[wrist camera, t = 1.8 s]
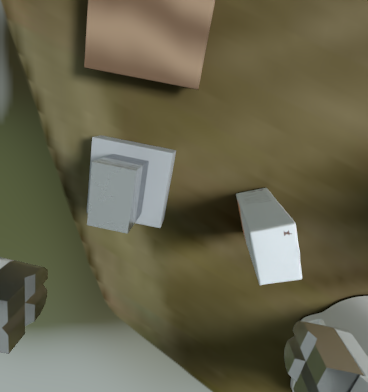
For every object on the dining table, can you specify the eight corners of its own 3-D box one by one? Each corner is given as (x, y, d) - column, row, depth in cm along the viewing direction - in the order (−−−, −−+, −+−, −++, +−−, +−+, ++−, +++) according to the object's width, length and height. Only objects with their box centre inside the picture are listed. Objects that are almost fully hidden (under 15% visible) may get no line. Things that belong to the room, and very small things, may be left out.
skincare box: (234, 193, 34) (248, 230, 23) (266, 186, 33) (297, 221, 22) (242, 233, 36) (258, 286, 24) (272, 227, 35) (305, 280, 24)
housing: (141, 213, 33) (127, 233, 27) (107, 206, 33) (87, 224, 27) (148, 161, 31) (135, 170, 25) (113, 153, 31) (91, 161, 25)
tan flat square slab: (198, 91, 31) (198, 89, 28) (95, 71, 31) (84, 67, 28) (223, -38, 27) (225, -57, 24) (104, -59, 27) (92, -80, 24)
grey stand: (163, 219, 36) (160, 228, 33) (96, 205, 36) (86, 212, 33) (176, 150, 33) (173, 153, 30) (102, 135, 33) (92, 137, 30)
